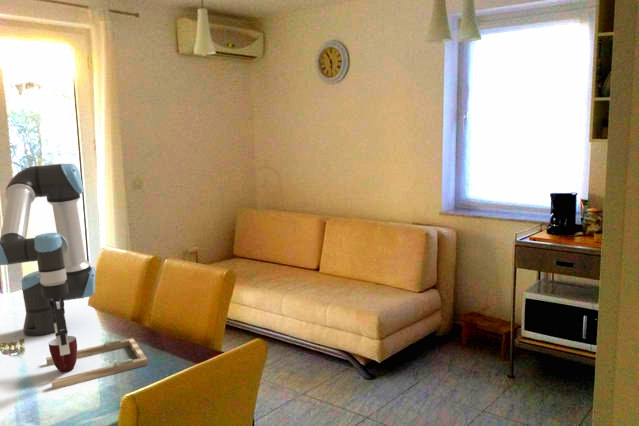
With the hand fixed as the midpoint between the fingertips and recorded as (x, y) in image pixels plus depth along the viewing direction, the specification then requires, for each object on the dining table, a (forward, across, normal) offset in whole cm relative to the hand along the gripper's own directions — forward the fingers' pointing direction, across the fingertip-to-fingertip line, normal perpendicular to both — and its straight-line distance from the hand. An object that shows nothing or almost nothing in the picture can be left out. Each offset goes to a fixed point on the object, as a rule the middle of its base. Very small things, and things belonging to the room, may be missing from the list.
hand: (63, 348), depth 178 cm
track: (+8, 0, +9) cm, 12 cm away
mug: (+8, 0, 0) cm, 8 cm away
